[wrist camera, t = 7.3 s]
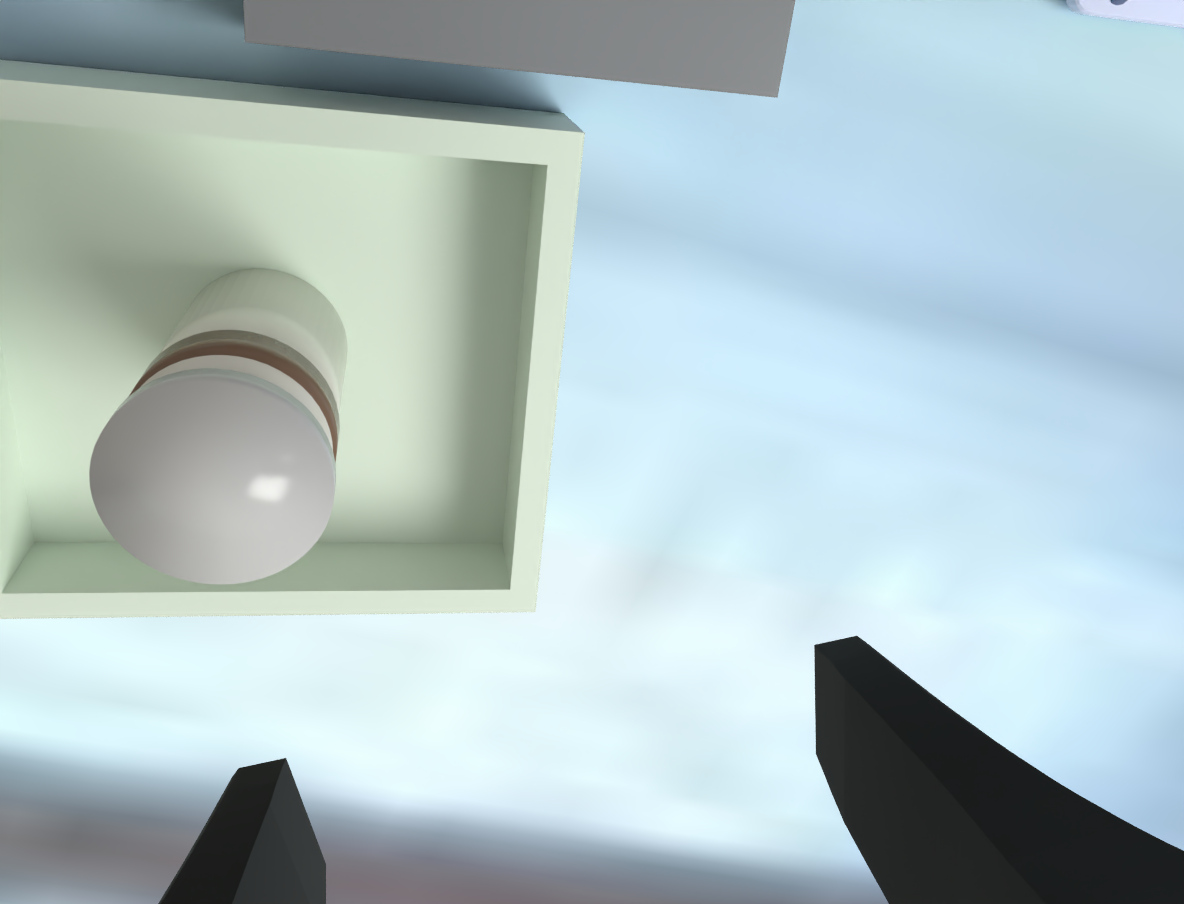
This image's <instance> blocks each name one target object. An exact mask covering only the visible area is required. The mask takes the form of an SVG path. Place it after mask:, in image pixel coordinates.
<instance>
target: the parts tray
mask: <svg viewBox="0 0 1184 904" xmlns="http://www.w3.org/2000/svg"><path fill="white" fill-rule="evenodd" d="M584 135H585V133H584V132H583V131H582V130H581V129H580V128H579V127H578V126H577V125H576V124H575V123H573V122H572V121H571V120H570V119H569V118H568V117H567V116H566V115H565V114H564V113H554V112H544V111H533V110H523V109H512V108H502V107H491V106H481V105H471V104H460V103H450V102H439V101H429V100H418V99H408V98H397V97H387V96H376V95H366V94H356V93H345V92H335V91H324V90H314V89H303V88H293V87H282V86H272V85H261V84H251V83H241V82H230V81H220V80H209V79H199V78H188V77H178V76H167V75H157V74H146V73H136V72H126V71H115V70H105V69H94V68H84V67H73V66H63V65H52V64H42V63H31V62H21V61H11V60H0V619H24V618H103V617H182V616H261V615H340V614H419V613H498V612H535V610H536V600H537V591H538V581H539V571H540V562H541V552H542V542H543V532H544V523H545V513H546V503H547V494H548V484H549V474H550V465H551V455H552V445H553V435H554V426H555V416H556V406H557V397H558V387H559V377H560V368H561V358H562V348H563V338H564V329H565V319H566V309H567V300H568V290H569V280H570V271H571V261H572V251H573V241H574V232H575V222H576V212H577V203H578V193H579V183H580V174H581V164H582V154H583V144H584ZM253 268H258V269H272V270H277V271H281V272H285V273H288V274H291V275H293V276H296V277H298V278H300V279H302V280H304V281H306V282H308V283H309V284H310V285H312V286H313V287H315V288H316V289H317V290H319V291H320V292H321V293H322V294H323V295H324V296H325V297H326V298H327V299H328V300H329V301H330V303H331V304H332V305H333V307H334V308H335V310H336V311H337V313H338V315H339V317H340V319H341V321H342V323H343V326H344V329H345V332H346V337H347V346H348V353H347V363H346V370H345V377H344V384H343V391H342V398H341V405H340V412H339V421H340V430H339V440H338V448H337V455H336V486H335V495H334V503H333V507H332V511H331V515H330V518H329V521H328V523H327V525H326V528H325V530H324V531H323V533H322V535H321V536H320V538H319V539H318V541H317V542H316V543H315V544H314V546H313V547H312V548H311V549H310V550H309V551H308V552H307V553H306V554H305V555H304V556H303V557H302V558H300V559H299V560H298V561H296V562H295V563H293V564H292V565H290V566H289V567H287V568H285V569H283V570H281V571H280V572H278V573H275V574H273V575H270V576H268V577H265V578H262V579H258V580H254V581H250V582H244V583H238V584H222V585H219V584H203V583H197V582H191V581H187V580H183V579H179V578H175V577H173V576H170V575H167V574H165V573H162V572H160V571H158V570H156V569H154V568H152V567H150V566H148V565H146V564H145V563H143V562H141V561H140V560H138V559H137V558H135V557H134V556H133V555H131V554H130V553H129V552H128V551H127V550H125V549H124V548H123V547H122V546H121V545H120V544H119V543H118V542H117V541H116V540H115V539H114V538H113V536H112V535H111V534H110V532H109V531H108V530H107V528H106V527H105V526H104V524H103V522H102V520H101V518H100V517H99V515H98V513H97V510H96V508H95V505H94V502H93V499H92V495H91V490H90V482H89V469H90V461H91V456H92V453H93V449H94V446H95V444H96V442H97V440H98V438H99V436H100V434H101V432H102V430H103V429H104V427H105V426H106V424H107V423H108V421H109V419H110V418H111V416H112V415H113V414H114V412H115V411H116V409H117V408H118V407H119V406H120V405H121V404H122V403H123V402H124V401H125V399H126V398H127V397H128V396H129V395H130V393H131V392H132V390H133V389H134V387H135V386H136V384H137V382H138V381H139V379H140V378H141V376H142V375H143V373H144V372H145V370H146V369H147V367H148V366H149V365H150V363H151V362H152V361H153V360H154V359H155V358H156V357H157V356H158V355H159V354H160V352H161V351H162V349H163V347H164V346H165V344H166V343H167V341H168V339H169V338H170V336H171V335H172V333H173V331H174V330H175V328H176V327H177V325H178V323H179V322H180V320H181V319H182V317H183V315H184V314H185V312H186V311H187V309H188V307H189V306H190V304H191V303H192V301H193V300H194V298H195V297H196V296H197V294H198V293H199V292H200V291H201V290H202V289H203V288H204V287H206V286H207V285H208V284H210V283H211V282H212V281H214V280H216V279H218V278H219V277H221V276H223V275H226V274H229V273H231V272H235V271H239V270H244V269H253Z"/></svg>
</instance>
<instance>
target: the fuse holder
mask: <svg viewBox="0 0 1184 904" xmlns="http://www.w3.org/2000/svg"><path fill="white" fill-rule="evenodd" d="M794 4H795V0H243V8H244V31H245V42H248V43H257V44H267V45H277V46H286V47H296V48H306V49H315V50H325V51H334V52H344V53H354V54H363V55H373V56H383V57H392V58H402V59H411V60H421V61H431V62H440V63H450V64H460V65H469V66H479V67H488V68H498V69H508V70H517V71H527V72H537V73H546V74H556V75H565V76H575V77H585V78H594V79H604V80H613V81H623V82H633V83H642V84H652V85H662V86H671V87H681V88H690V89H700V90H710V91H719V92H729V93H739V94H748V95H758V96H767V97H778V91H779V86H780V80H781V75H782V69H783V64H784V59H785V53H786V48H787V42H788V37H789V31H790V26H791V21H792V15H793V10H794Z"/></svg>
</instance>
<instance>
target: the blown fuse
mask: <svg viewBox="0 0 1184 904" xmlns="http://www.w3.org/2000/svg"><path fill="white" fill-rule="evenodd" d="M347 353H348V346H347V337H346V332H345V329H344V326H343V323H342V321H341V319H340V317H339V315H338V313H337V311H336V310H335V308H334V307H333V305H332V304H331V303H330V301H329V300H328V299H327V298H326V297H325V296H324V295H323V294H322V293H321V292H320V291H319V290H317V289H316V288H315V287H313V286H312V285H310V284H309V283H308V282H306V281H304V280H302V279H300V278H298V277H296V276H293V275H291V274H288V273H285V272H281V271H277V270H272V269H258V268H253V269H244V270H239V271H235V272H231V273H229V274H226V275H223V276H221V277H219V278H218V279H216V280H214V281H212V282H211V283H210V284H208V285H207V286H206V287H204V288H203V289H202V290H201V291H200V292H199V293H198V294H197V296H196V297H195V298H194V300H193V301H192V303H191V304H190V306H189V307H188V309H187V311H186V312H185V314H184V315H183V317H182V319H181V320H180V322H179V323H178V325H177V327H176V328H175V330H174V331H173V333H172V335H171V336H170V338H169V339H168V341H167V343H166V344H165V346H164V347H163V349H162V351H161V352H160V354H159V355H158V356H157V357H156V358H155V359H154V360H153V361H152V362H151V363H150V365H149V366H148V367H147V369H146V370H145V372H144V373H143V375H142V376H141V378H140V379H139V381H138V382H137V384H136V386H135V387H134V389H133V390H132V392H131V393H130V395H129V396H128V397H127V398H126V399H125V401H124V402H123V403H122V404H121V405H120V406H119V407H118V408H117V409H116V411H115V412H114V414H113V415H112V416H111V418H110V419H109V421H108V423H107V424H106V426H105V427H104V429H103V430H102V432H101V434H100V436H99V438H98V440H97V442H96V444H95V446H94V449H93V453H92V456H91V461H90V469H89V482H90V490H91V495H92V499H93V502H94V505H95V508H96V510H97V513H98V515H99V517H100V518H101V520H102V522H103V524H104V526H105V527H106V528H107V530H108V531H109V532H110V534H111V535H112V536H113V538H114V539H115V540H116V541H117V542H118V543H119V544H120V545H121V546H122V547H123V548H124V549H125V550H127V551H128V552H129V553H130V554H131V555H133V556H134V557H135V558H137V559H138V560H140V561H141V562H143V563H145V564H146V565H148V566H150V567H152V568H154V569H156V570H158V571H160V572H162V573H165V574H167V575H170V576H173V577H175V578H179V579H183V580H187V581H191V582H197V583H203V584H219V585H222V584H238V583H244V582H250V581H254V580H258V579H262V578H265V577H268V576H270V575H273V574H275V573H278V572H280V571H281V570H283V569H285V568H287V567H289V566H290V565H292V564H293V563H295V562H296V561H298V560H299V559H300V558H302V557H303V556H304V555H305V554H306V553H307V552H308V551H309V550H310V549H311V548H312V547H313V546H314V544H315V543H316V542H317V541H318V539H319V538H320V536H321V535H322V533H323V531H324V530H325V528H326V525H327V523H328V521H329V518H330V515H331V511H332V507H333V503H334V495H335V486H336V455H337V448H338V440H339V430H340V421H339V412H340V405H341V398H342V391H343V384H344V377H345V370H346V363H347Z"/></svg>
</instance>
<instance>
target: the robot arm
mask: <svg viewBox="0 0 1184 904" xmlns="http://www.w3.org/2000/svg"><path fill="white" fill-rule="evenodd" d="M1066 2H1067V5H1068V6H1069V8H1070V9H1071V10H1072V11H1073V12H1075V13H1078V14H1081V15H1088V16H1096V17H1103V18H1111V19H1119V20H1126V21H1134V22H1141V23H1149V24H1156V25H1164V26H1172V27H1179V28H1184V0H1114V1H1112V2H1110V0H1066ZM815 715H816V755H817V757H818V760H819V762H820V765H821V767H822V770H823V772H824V775H825V777H826V780H827V782H828V785H829V787H830V790H831V792H832V795H833V797H834V799H835V802H836V804H837V806H838V809H839V811H840V814H841V816H842V818H843V821H844V823H845V825H846V826H847V828H848V830H849V832H850V834H851V836H852V838H853V839H854V841H855V843H856V845H857V847H858V849H859V850H860V852H861V854H862V856H863V858H864V859H865V861H866V863H867V865H868V867H869V869H870V870H871V872H872V874H873V876H874V878H875V879H876V881H877V883H878V885H879V887H880V888H881V890H882V892H883V894H884V896H885V897H886V899H887V901H888V903H889V904H1184V851H1183V850H1181V849H1179V848H1177V847H1174V846H1172V845H1170V844H1168V843H1166V842H1164V841H1162V840H1160V839H1158V838H1156V837H1154V836H1152V835H1150V834H1148V833H1147V832H1145V831H1143V830H1141V829H1139V828H1137V827H1135V826H1133V825H1131V824H1129V823H1127V822H1126V821H1124V820H1122V819H1120V818H1119V817H1117V816H1115V815H1113V814H1111V813H1110V812H1108V811H1106V810H1104V809H1103V808H1101V807H1099V806H1097V805H1095V804H1094V803H1092V802H1090V801H1088V800H1087V799H1085V798H1083V797H1081V796H1079V795H1078V794H1076V793H1074V792H1073V791H1071V790H1069V789H1068V788H1066V787H1064V786H1063V785H1061V784H1059V783H1058V782H1056V781H1055V780H1053V779H1051V778H1050V777H1048V776H1047V775H1045V774H1044V773H1042V772H1041V771H1039V770H1038V769H1036V768H1035V767H1033V766H1032V765H1030V764H1028V763H1027V762H1025V761H1024V760H1022V759H1021V758H1019V757H1018V756H1016V755H1015V754H1013V753H1012V752H1010V751H1009V750H1008V749H1006V748H1005V747H1003V746H1002V745H1000V744H999V743H997V742H996V741H994V740H993V739H992V738H990V737H989V736H987V735H986V734H985V733H983V732H982V731H981V730H979V729H978V728H976V727H975V726H974V725H972V724H971V723H970V722H968V721H967V720H965V719H964V718H963V717H961V716H960V715H959V714H957V713H956V712H954V711H953V710H952V709H950V708H949V707H948V706H946V705H945V704H944V703H942V702H941V701H940V700H938V699H937V698H936V697H935V696H933V695H932V694H931V693H929V692H928V691H927V690H925V689H924V688H923V687H922V686H920V685H919V684H918V683H916V682H915V681H914V680H913V679H911V678H910V677H909V676H908V675H906V674H905V673H904V672H902V671H901V670H900V669H899V668H897V667H896V666H895V665H894V664H892V663H891V662H890V661H889V660H887V659H886V658H885V657H884V656H882V655H881V654H880V653H879V652H877V651H876V650H875V649H874V648H872V647H871V646H870V645H869V644H867V643H866V642H865V641H863V640H862V639H861V638H859V637H858V636H854V637H849V638H845V639H840V640H835V641H831V642H826V643H821V644H817V645H815ZM159 904H326V863H325V861H324V858H323V855H322V853H321V850H320V847H319V845H318V842H317V839H316V837H315V834H314V831H313V829H312V826H311V823H310V821H309V818H308V815H307V813H306V810H305V807H304V805H303V802H302V799H301V797H300V794H299V791H298V789H297V786H296V784H295V781H294V778H293V776H292V773H291V770H290V768H289V765H288V762H287V760H286V758H284V759H280V760H275V761H270V762H266V763H261V764H256V765H252V766H247V767H242V768H239V769H238V770H237V771H236V773H235V774H234V775H233V777H232V778H231V780H230V782H229V784H228V786H227V787H226V789H225V791H224V793H223V794H222V796H221V798H220V800H219V802H218V803H217V805H216V807H215V809H214V810H213V812H212V814H211V816H210V818H209V819H208V821H207V823H206V825H205V826H204V828H203V830H202V832H201V833H200V835H199V837H198V839H197V840H196V842H195V844H194V845H193V847H192V849H191V851H190V852H189V854H188V856H187V857H186V859H185V861H184V863H183V864H182V866H181V868H180V869H179V871H178V873H177V874H176V876H175V877H174V879H173V881H172V882H171V884H170V886H169V887H168V889H167V891H166V892H165V894H164V895H163V897H162V899H161V900H160V902H159Z"/></svg>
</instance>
